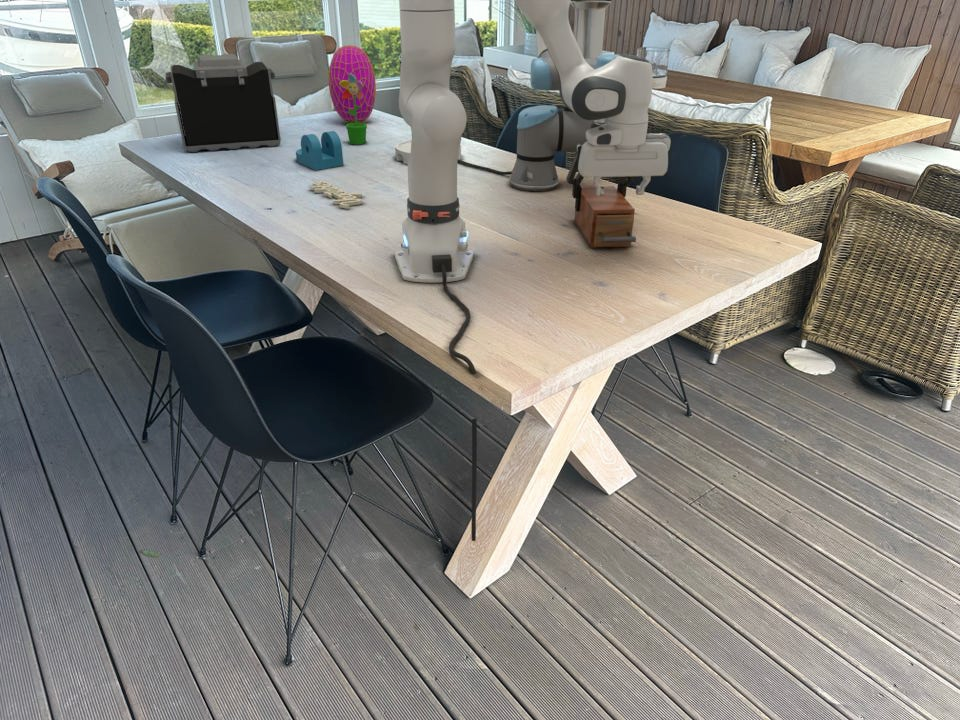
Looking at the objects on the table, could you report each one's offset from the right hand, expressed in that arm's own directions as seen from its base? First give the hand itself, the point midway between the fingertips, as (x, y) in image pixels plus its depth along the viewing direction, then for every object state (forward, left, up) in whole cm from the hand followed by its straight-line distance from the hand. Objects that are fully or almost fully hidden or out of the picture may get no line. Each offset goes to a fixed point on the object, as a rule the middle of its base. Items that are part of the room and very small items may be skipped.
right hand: (597, 209), depth 182 cm
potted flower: (-111, -45, -5) cm, 120 cm away
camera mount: (-86, -63, -5) cm, 107 cm away
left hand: (+19, -5, +10) cm, 22 cm away
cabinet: (+5, -1, -5) cm, 7 cm away
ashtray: (-82, -25, -5) cm, 86 cm away
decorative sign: (-47, -62, -5) cm, 78 cm away
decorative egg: (-148, -40, -5) cm, 153 cm away
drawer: (+10, -2, -4) cm, 11 cm away
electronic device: (-123, -90, -5) cm, 153 cm away
